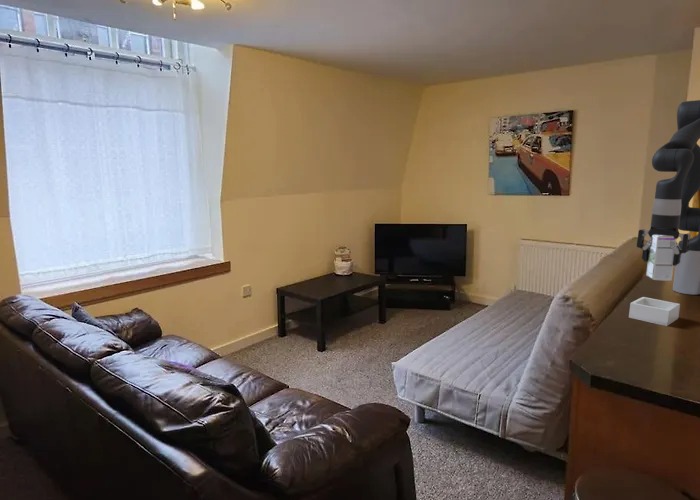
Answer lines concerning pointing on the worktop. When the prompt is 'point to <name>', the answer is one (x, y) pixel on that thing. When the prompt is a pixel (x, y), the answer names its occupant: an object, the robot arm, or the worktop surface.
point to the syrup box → (660, 258)
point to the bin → (654, 311)
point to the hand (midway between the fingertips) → (660, 263)
